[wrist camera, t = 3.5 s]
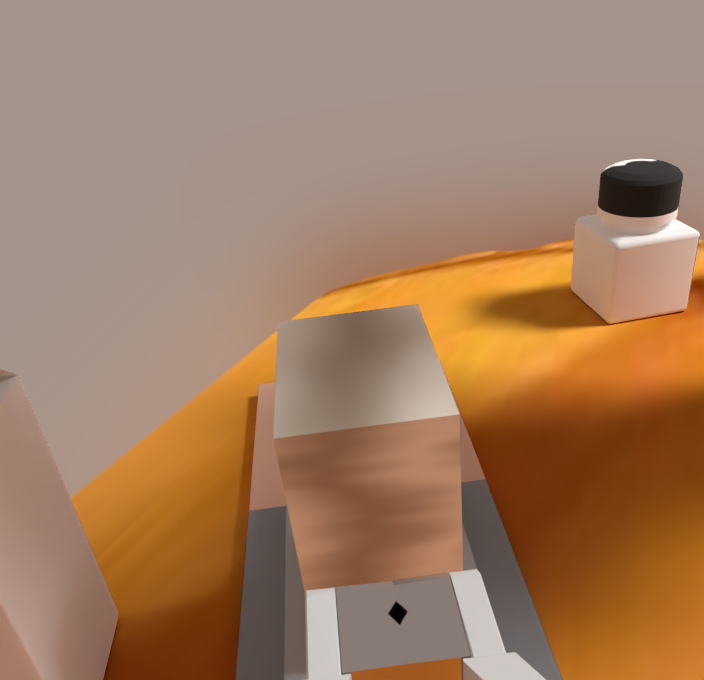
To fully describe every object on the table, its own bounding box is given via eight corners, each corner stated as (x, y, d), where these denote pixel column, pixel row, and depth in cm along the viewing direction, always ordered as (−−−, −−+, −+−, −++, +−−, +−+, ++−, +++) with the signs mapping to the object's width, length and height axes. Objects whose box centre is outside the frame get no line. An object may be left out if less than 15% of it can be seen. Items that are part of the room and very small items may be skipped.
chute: (440, 371, 51) (439, 338, 49) (569, 716, 27) (574, 672, 26) (261, 394, 50) (254, 362, 49) (234, 763, 27) (220, 721, 25)
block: (430, 538, 35) (417, 304, 28) (465, 679, 28) (459, 414, 21) (319, 553, 35) (277, 322, 28) (326, 698, 28) (273, 438, 21)
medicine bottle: (688, 311, 55) (713, 169, 49) (608, 325, 54) (623, 183, 48) (641, 278, 61) (658, 148, 55) (569, 290, 60) (578, 160, 54)
